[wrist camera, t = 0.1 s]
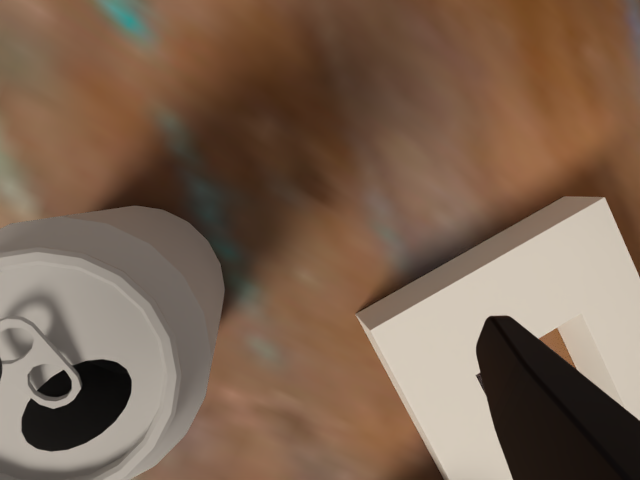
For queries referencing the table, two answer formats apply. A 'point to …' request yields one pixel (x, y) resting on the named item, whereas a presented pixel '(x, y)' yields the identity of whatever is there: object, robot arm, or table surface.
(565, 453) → the robot arm
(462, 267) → the block
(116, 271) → the can
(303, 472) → the table surface
